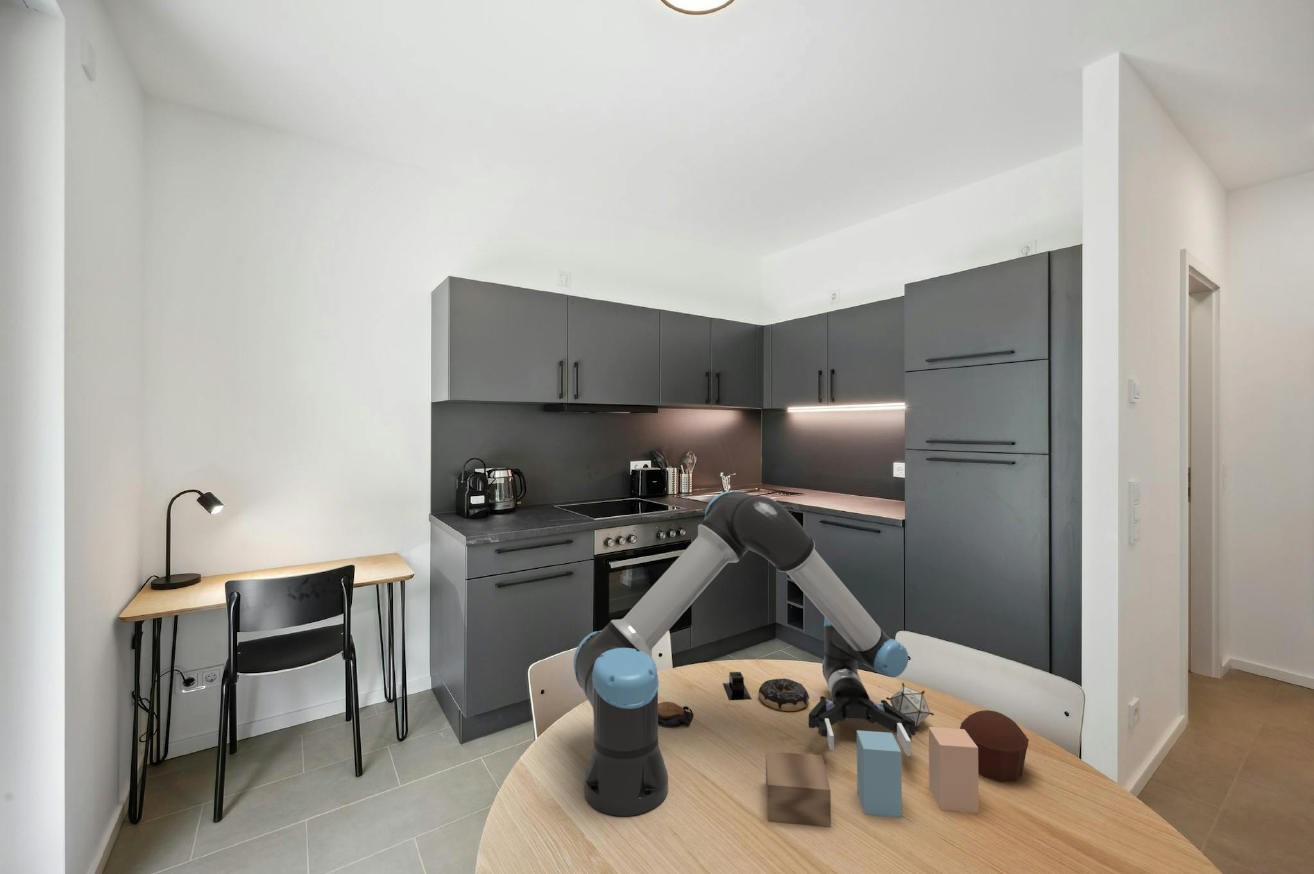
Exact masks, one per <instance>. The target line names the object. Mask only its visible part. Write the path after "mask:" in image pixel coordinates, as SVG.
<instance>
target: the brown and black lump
mask: <svg viewBox="0 0 1314 874" xmlns="http://www.w3.org/2000/svg"><path fill="white" fill-rule="evenodd" d="M693 718H694V712H693V710H692V709H691V708H690V707H688V706H687V705H684V706H681V705H679V704H677V703H675V702H672V701H661V702H658V728H659V727H661V728H674V729H675V728H676V729H677V728H679V729H680V728H681V729H687V728H690V727H691V722H692V721H693Z"/></svg>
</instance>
